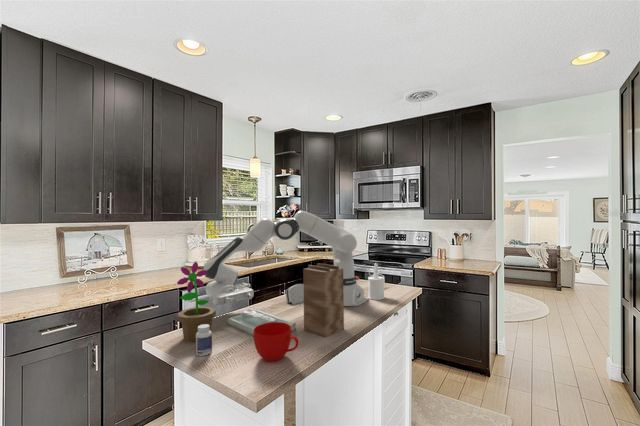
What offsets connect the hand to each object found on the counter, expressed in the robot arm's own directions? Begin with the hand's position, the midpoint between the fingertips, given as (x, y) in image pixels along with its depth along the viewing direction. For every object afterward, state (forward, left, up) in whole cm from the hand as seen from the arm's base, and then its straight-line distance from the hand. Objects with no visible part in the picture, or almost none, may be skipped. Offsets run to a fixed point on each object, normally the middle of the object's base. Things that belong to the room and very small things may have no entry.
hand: (242, 299), depth 147 cm
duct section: (0, +13, -9) cm, 15 cm away
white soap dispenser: (-72, +27, -10) cm, 78 cm away
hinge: (-40, -4, -10) cm, 41 cm away
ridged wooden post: (-16, +37, -10) cm, 41 cm away
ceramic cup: (+14, +43, -10) cm, 46 cm away
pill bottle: (+29, +20, -10) cm, 36 cm away
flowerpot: (+24, +4, -10) cm, 26 cm away
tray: (0, +14, -10) cm, 17 cm away
